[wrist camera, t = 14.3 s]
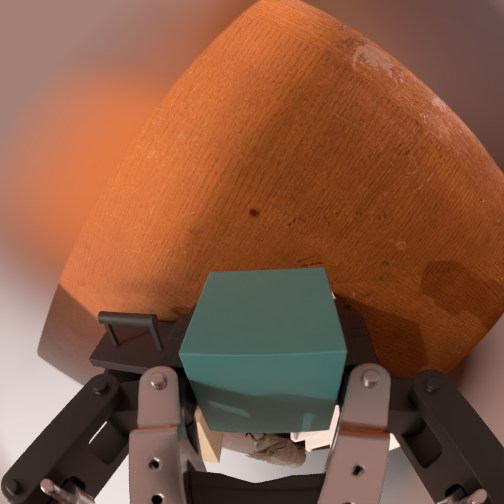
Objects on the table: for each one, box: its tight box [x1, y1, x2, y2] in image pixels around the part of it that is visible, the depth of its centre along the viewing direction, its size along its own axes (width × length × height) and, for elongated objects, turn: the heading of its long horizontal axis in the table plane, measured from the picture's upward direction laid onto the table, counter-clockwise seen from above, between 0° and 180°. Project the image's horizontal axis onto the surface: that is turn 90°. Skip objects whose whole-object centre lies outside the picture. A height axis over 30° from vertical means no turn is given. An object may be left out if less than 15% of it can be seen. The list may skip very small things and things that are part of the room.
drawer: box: [89, 311, 175, 383], centre depth 32 cm, size 18×12×8 cm, turn 4°
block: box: [179, 267, 348, 433], centre depth 10 cm, size 4×4×4 cm
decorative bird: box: [245, 433, 306, 468], centre depth 44 cm, size 5×16×8 cm, turn 42°
